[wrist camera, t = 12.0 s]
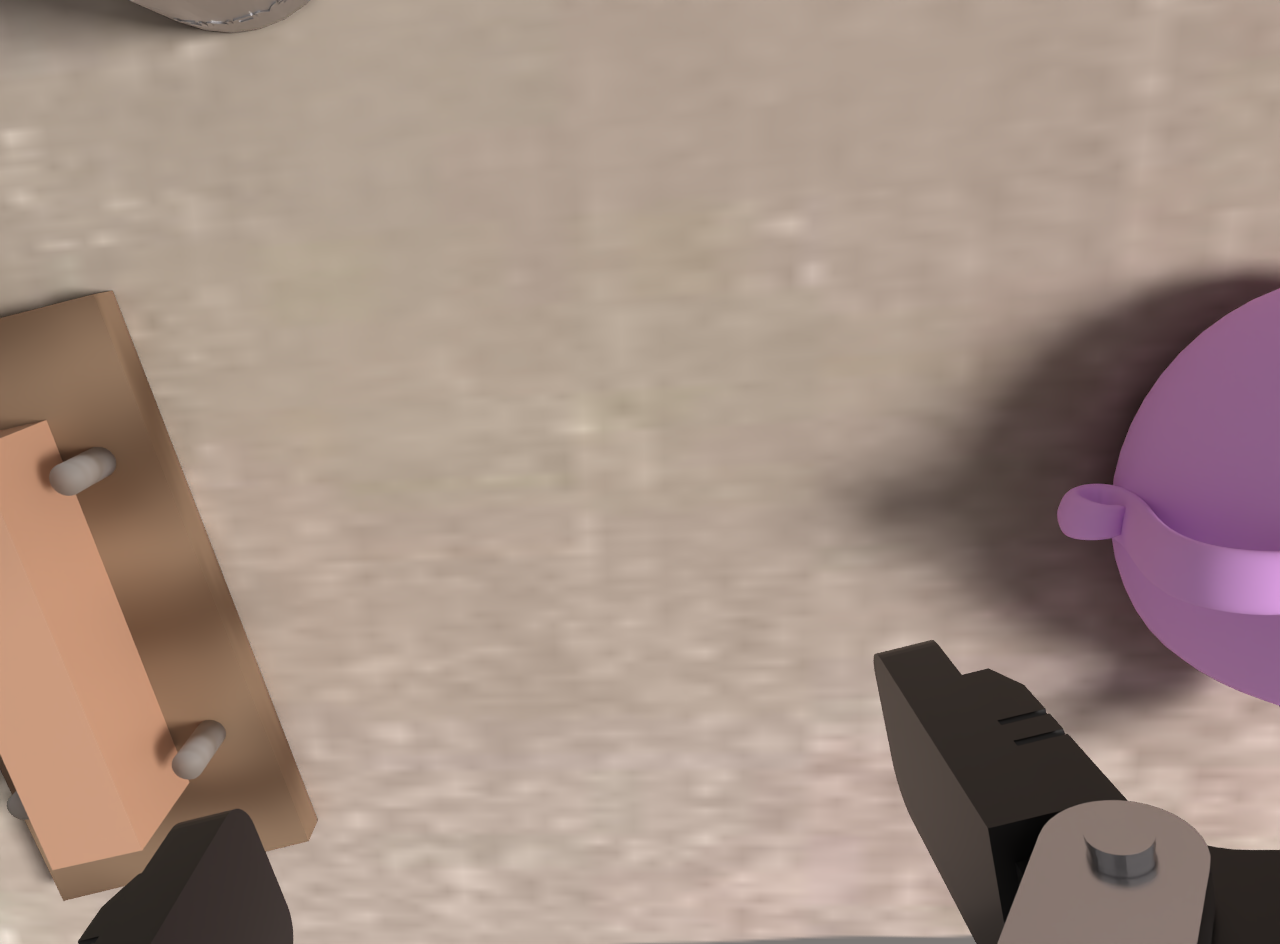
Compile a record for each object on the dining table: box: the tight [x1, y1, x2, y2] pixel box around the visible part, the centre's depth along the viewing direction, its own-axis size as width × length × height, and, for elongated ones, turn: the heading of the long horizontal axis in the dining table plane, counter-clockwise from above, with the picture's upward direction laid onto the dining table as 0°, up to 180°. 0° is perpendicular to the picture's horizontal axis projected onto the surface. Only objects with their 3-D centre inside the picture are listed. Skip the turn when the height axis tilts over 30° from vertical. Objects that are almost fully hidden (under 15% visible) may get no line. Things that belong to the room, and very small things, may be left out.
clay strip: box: [0, 420, 189, 870], centre depth 37 cm, size 16×4×4 cm, turn 12°
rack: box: [0, 291, 318, 901], centre depth 39 cm, size 24×11×4 cm, turn 14°
